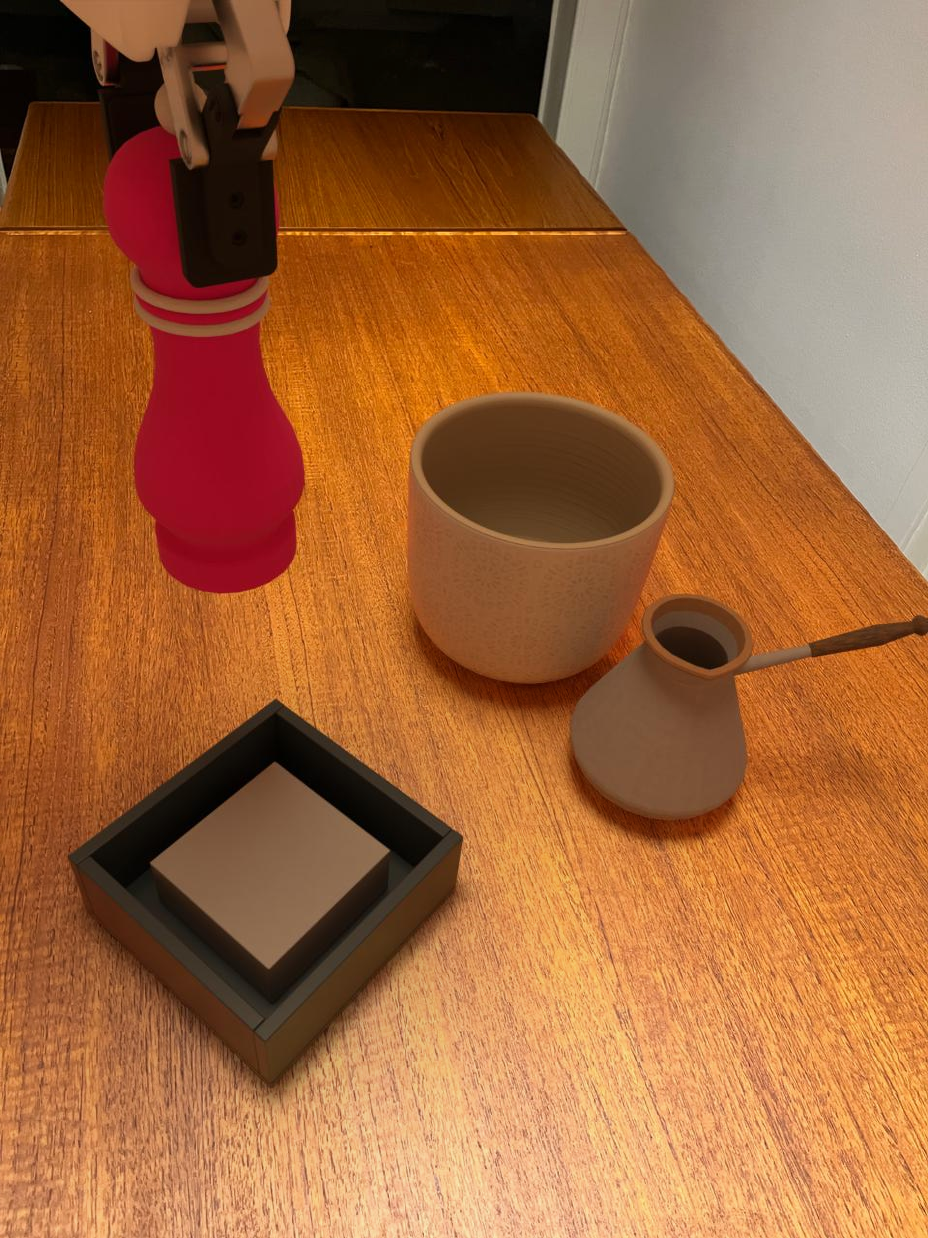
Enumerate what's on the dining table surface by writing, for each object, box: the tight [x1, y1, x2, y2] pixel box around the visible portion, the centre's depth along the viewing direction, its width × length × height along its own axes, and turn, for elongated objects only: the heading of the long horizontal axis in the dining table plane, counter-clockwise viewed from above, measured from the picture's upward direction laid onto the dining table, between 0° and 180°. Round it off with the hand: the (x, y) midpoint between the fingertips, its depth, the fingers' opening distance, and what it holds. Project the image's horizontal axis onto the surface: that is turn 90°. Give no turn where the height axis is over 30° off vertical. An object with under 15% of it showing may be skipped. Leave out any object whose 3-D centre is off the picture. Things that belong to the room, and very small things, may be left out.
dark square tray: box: [67, 698, 464, 1089], centre depth 53 cm, size 15×15×6 cm
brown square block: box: [150, 762, 390, 1004], centre depth 53 cm, size 9×9×4 cm
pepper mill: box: [102, 83, 306, 594], centre depth 38 cm, size 7×7×20 cm
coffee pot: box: [569, 592, 928, 822], centre depth 60 cm, size 21×12×15 cm, turn 92°
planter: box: [406, 391, 676, 684], centre depth 67 cm, size 17×17×15 cm
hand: (193, 233), depth 35 cm, fingers closed on pepper mill, 6 cm apart
